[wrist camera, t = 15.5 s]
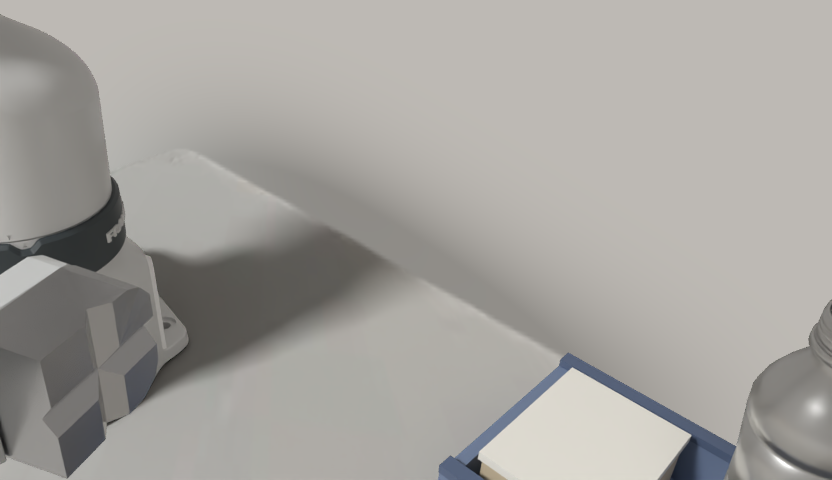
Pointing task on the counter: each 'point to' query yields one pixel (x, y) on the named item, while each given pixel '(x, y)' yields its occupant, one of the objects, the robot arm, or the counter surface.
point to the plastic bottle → (790, 415)
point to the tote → (702, 456)
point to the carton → (583, 438)
